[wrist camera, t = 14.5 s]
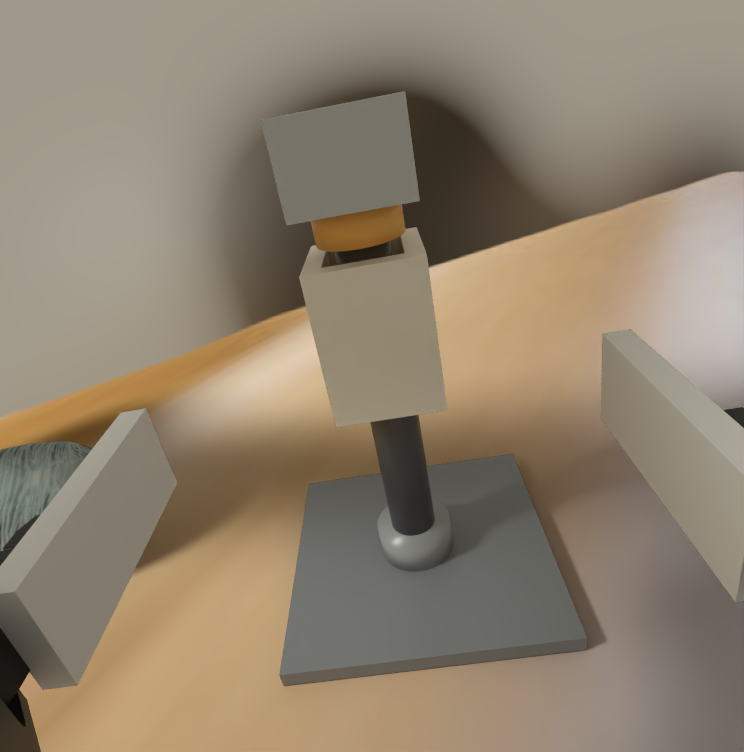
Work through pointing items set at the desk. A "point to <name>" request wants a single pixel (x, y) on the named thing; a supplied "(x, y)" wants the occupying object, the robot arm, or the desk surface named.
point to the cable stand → (403, 466)
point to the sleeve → (376, 333)
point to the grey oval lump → (33, 480)
